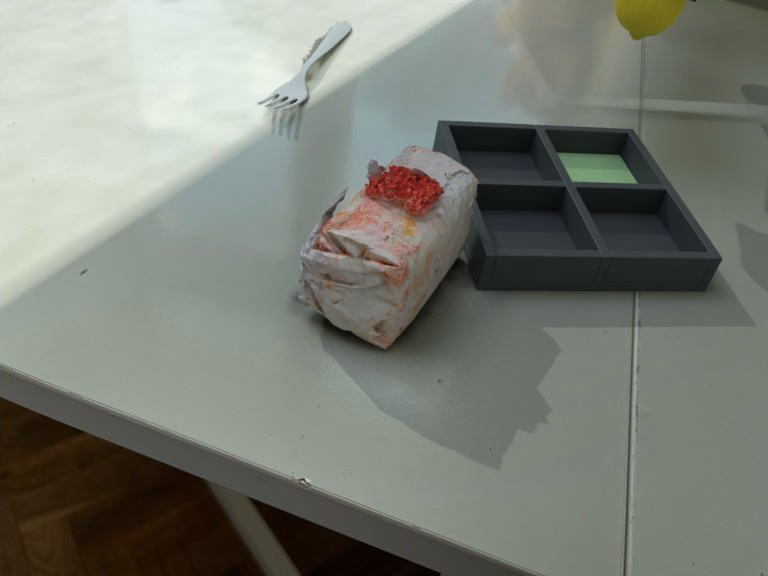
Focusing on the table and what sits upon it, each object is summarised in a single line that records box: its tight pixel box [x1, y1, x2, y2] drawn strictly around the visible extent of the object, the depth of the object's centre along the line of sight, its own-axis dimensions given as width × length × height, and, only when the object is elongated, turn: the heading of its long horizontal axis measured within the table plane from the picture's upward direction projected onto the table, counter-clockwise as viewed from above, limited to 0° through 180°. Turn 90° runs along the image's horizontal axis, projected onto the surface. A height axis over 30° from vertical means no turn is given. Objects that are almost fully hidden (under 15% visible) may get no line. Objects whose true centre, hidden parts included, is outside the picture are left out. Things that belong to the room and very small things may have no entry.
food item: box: [297, 144, 479, 350], centre depth 53 cm, size 14×8×10 cm, turn 153°
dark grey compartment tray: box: [431, 119, 723, 292], centre depth 64 cm, size 18×18×3 cm
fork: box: [257, 22, 352, 112], centre depth 79 cm, size 3×24×2 cm, turn 165°
